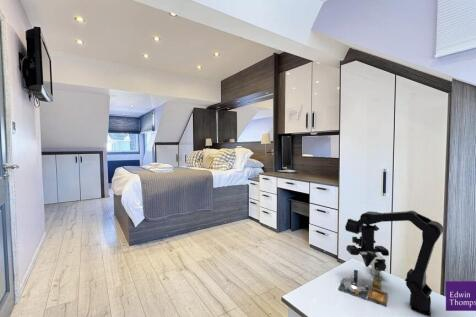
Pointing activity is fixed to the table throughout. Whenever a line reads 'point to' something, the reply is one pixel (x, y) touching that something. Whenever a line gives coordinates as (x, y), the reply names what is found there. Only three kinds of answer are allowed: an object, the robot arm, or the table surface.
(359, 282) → the sprocket
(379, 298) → the brown open tray
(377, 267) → the pneumatic valve
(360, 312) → the table surface
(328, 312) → the table surface
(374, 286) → the tan rectangular block
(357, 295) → the sprocket base
